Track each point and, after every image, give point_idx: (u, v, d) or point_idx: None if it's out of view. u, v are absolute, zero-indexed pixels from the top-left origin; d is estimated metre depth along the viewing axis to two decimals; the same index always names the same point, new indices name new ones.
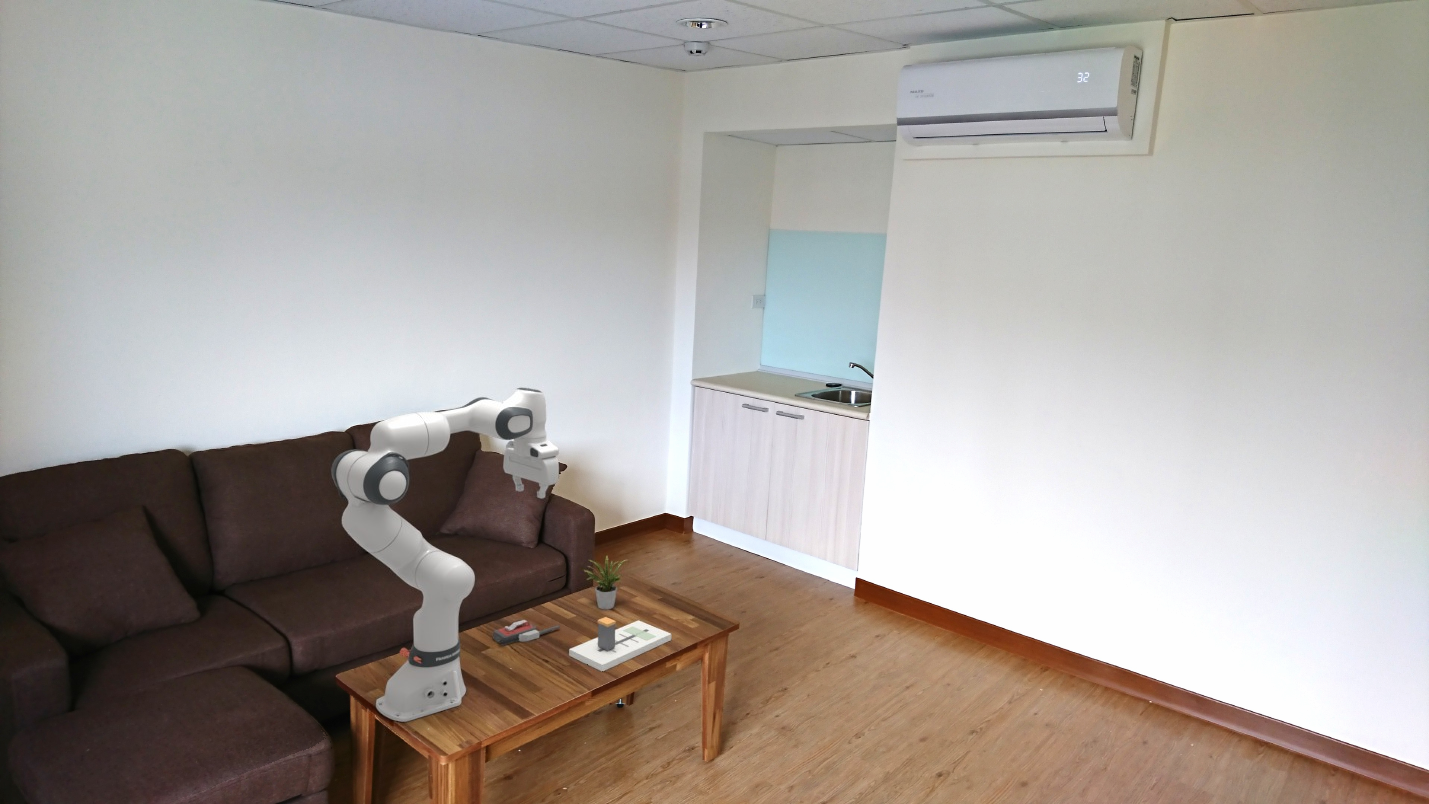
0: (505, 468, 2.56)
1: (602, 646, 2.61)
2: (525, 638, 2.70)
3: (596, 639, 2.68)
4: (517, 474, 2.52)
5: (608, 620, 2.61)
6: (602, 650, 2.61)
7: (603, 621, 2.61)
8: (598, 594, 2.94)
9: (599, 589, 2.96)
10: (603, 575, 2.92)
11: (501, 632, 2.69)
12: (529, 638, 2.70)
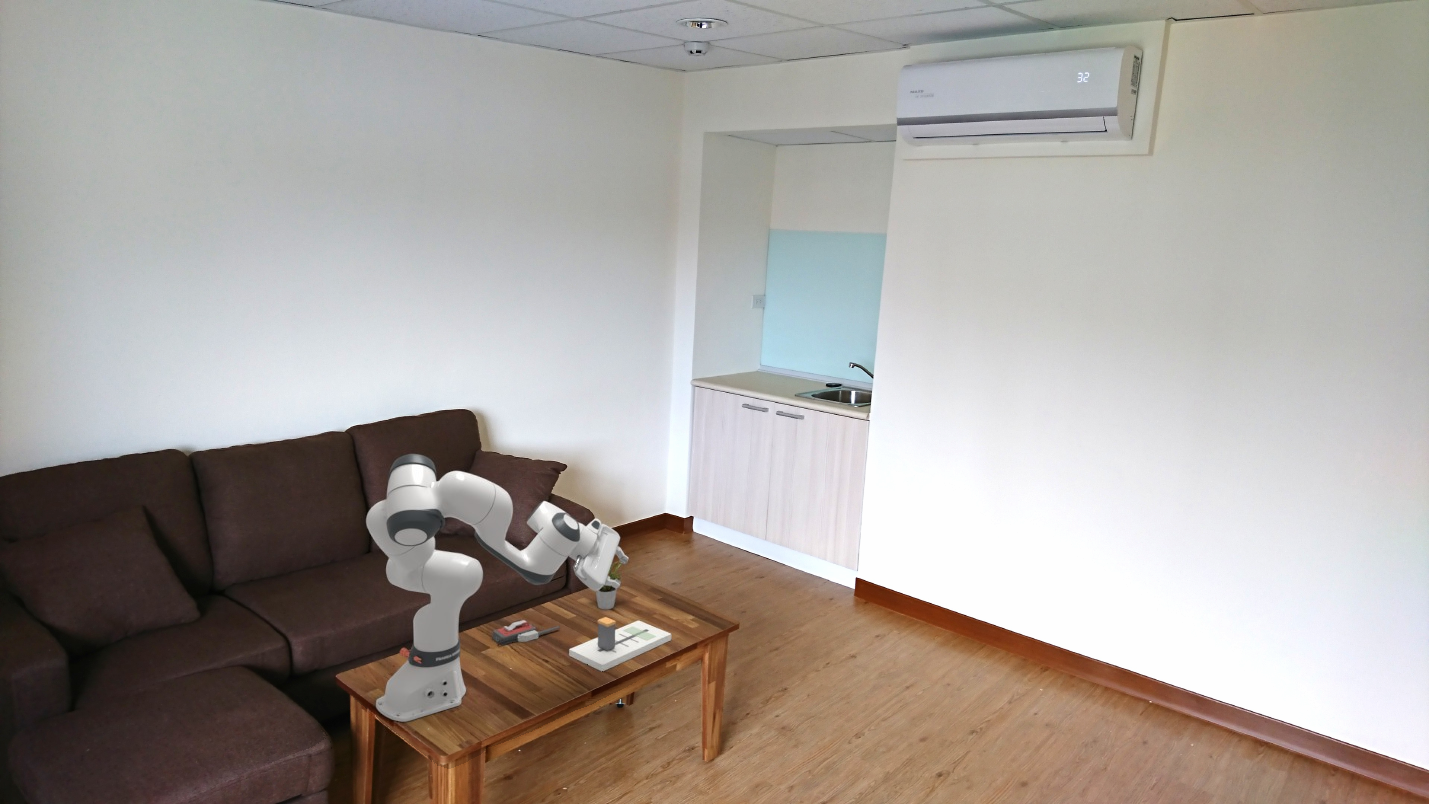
0: (601, 580, 2.35)
1: (602, 646, 2.61)
2: (524, 638, 2.70)
3: (596, 639, 2.68)
4: (608, 567, 2.40)
5: (608, 620, 2.61)
6: (602, 650, 2.61)
7: (603, 621, 2.61)
8: (598, 594, 2.94)
9: (599, 589, 2.96)
10: None
11: (500, 632, 2.69)
12: (528, 639, 2.70)
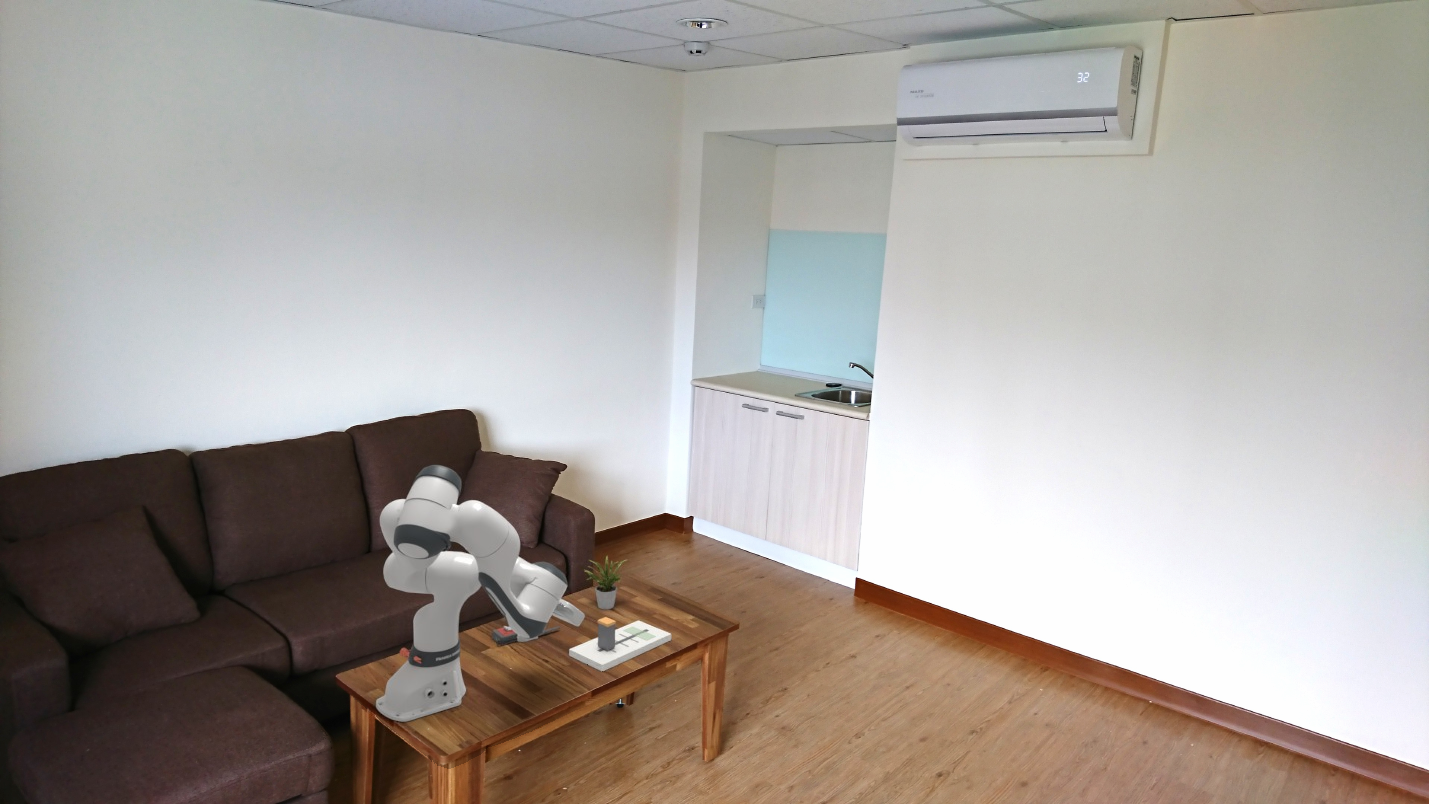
0: None
1: (602, 646, 2.61)
2: (523, 638, 2.69)
3: (596, 639, 2.68)
4: None
5: (608, 620, 2.61)
6: (602, 650, 2.61)
7: (603, 621, 2.61)
8: (598, 594, 2.94)
9: (599, 589, 2.96)
10: (603, 575, 2.92)
11: (500, 632, 2.69)
12: (527, 639, 2.70)
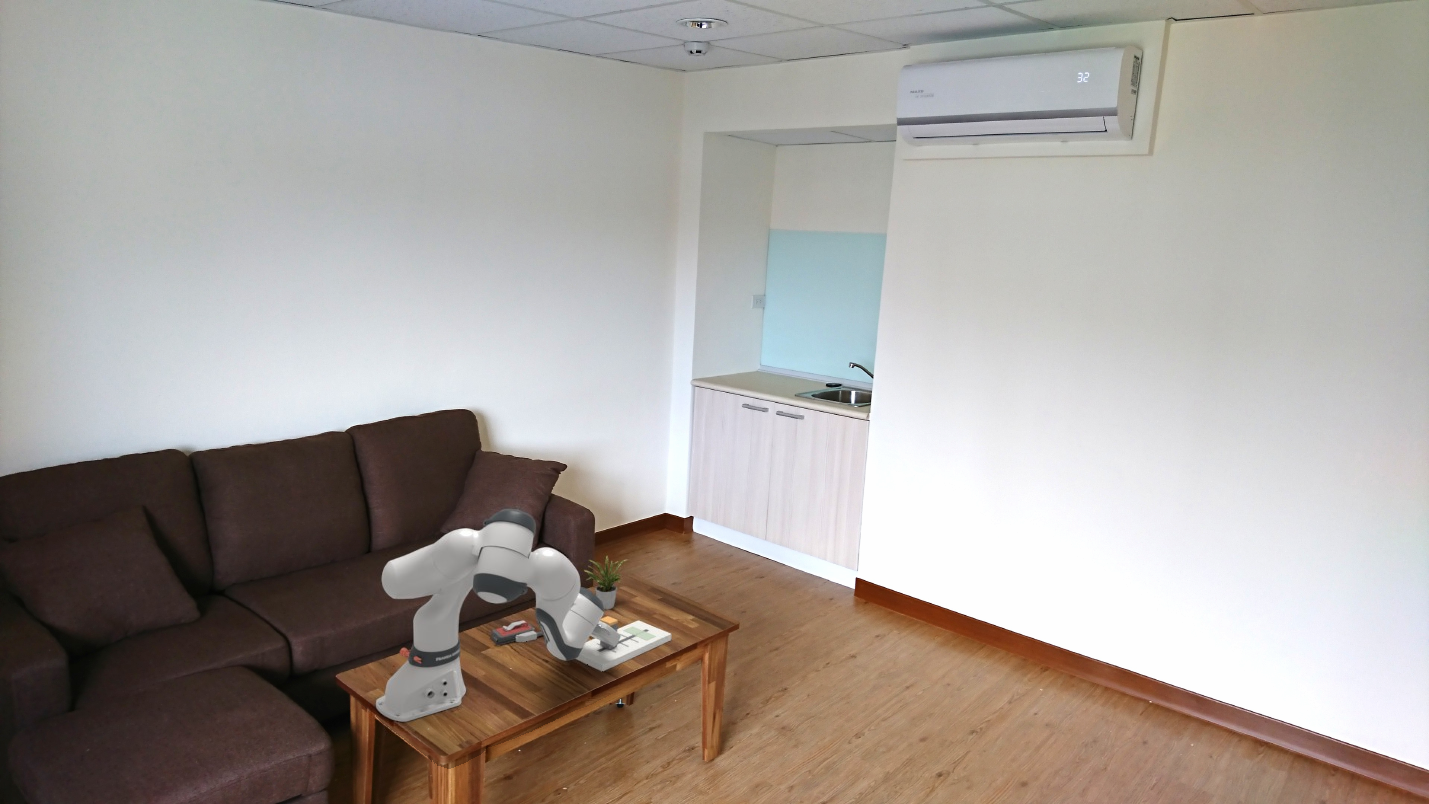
0: None
1: (604, 645, 2.62)
2: (522, 639, 2.69)
3: (596, 639, 2.68)
4: None
5: (610, 619, 2.62)
6: (602, 650, 2.61)
7: (605, 620, 2.61)
8: (598, 594, 2.94)
9: (599, 589, 2.96)
10: (603, 575, 2.92)
11: (498, 632, 2.69)
12: (526, 639, 2.70)
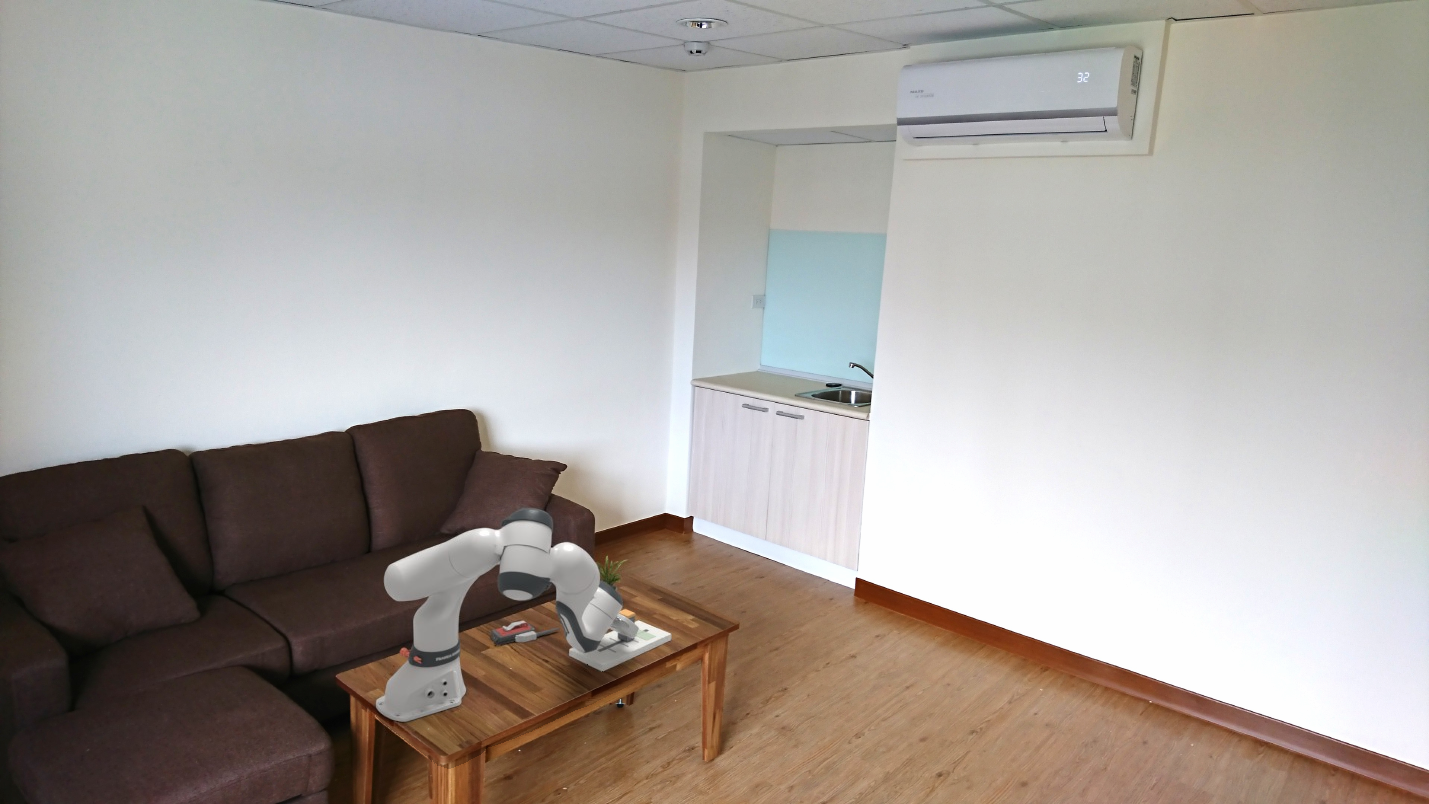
0: None
1: (622, 637, 2.67)
2: (521, 639, 2.69)
3: None
4: None
5: (627, 612, 2.67)
6: (602, 650, 2.61)
7: (623, 613, 2.67)
8: None
9: None
10: (603, 575, 2.92)
11: (498, 632, 2.69)
12: (525, 639, 2.69)
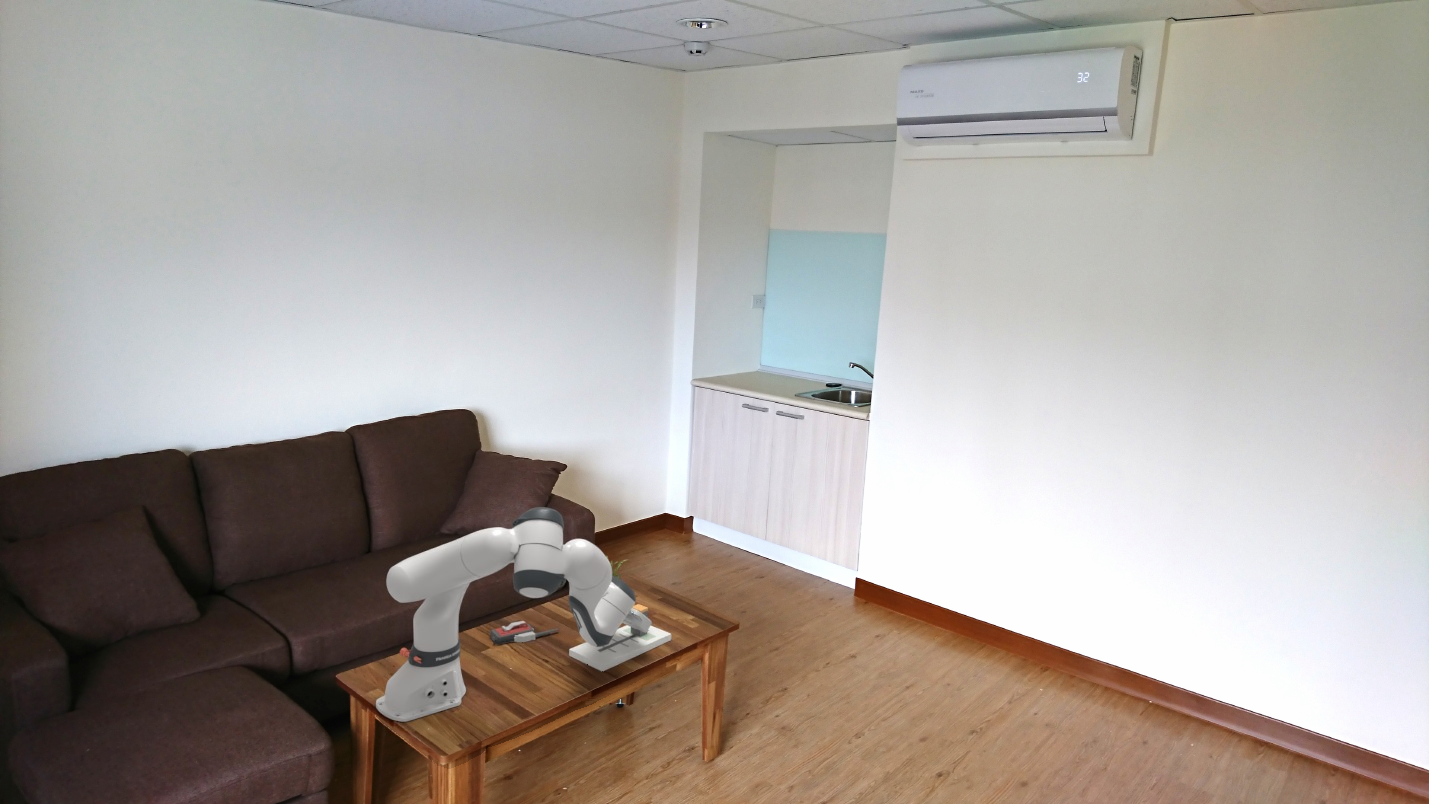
0: None
1: (635, 632, 2.71)
2: (520, 639, 2.69)
3: None
4: None
5: (640, 607, 2.71)
6: (602, 650, 2.61)
7: (636, 608, 2.71)
8: None
9: None
10: None
11: (497, 632, 2.69)
12: (524, 640, 2.69)
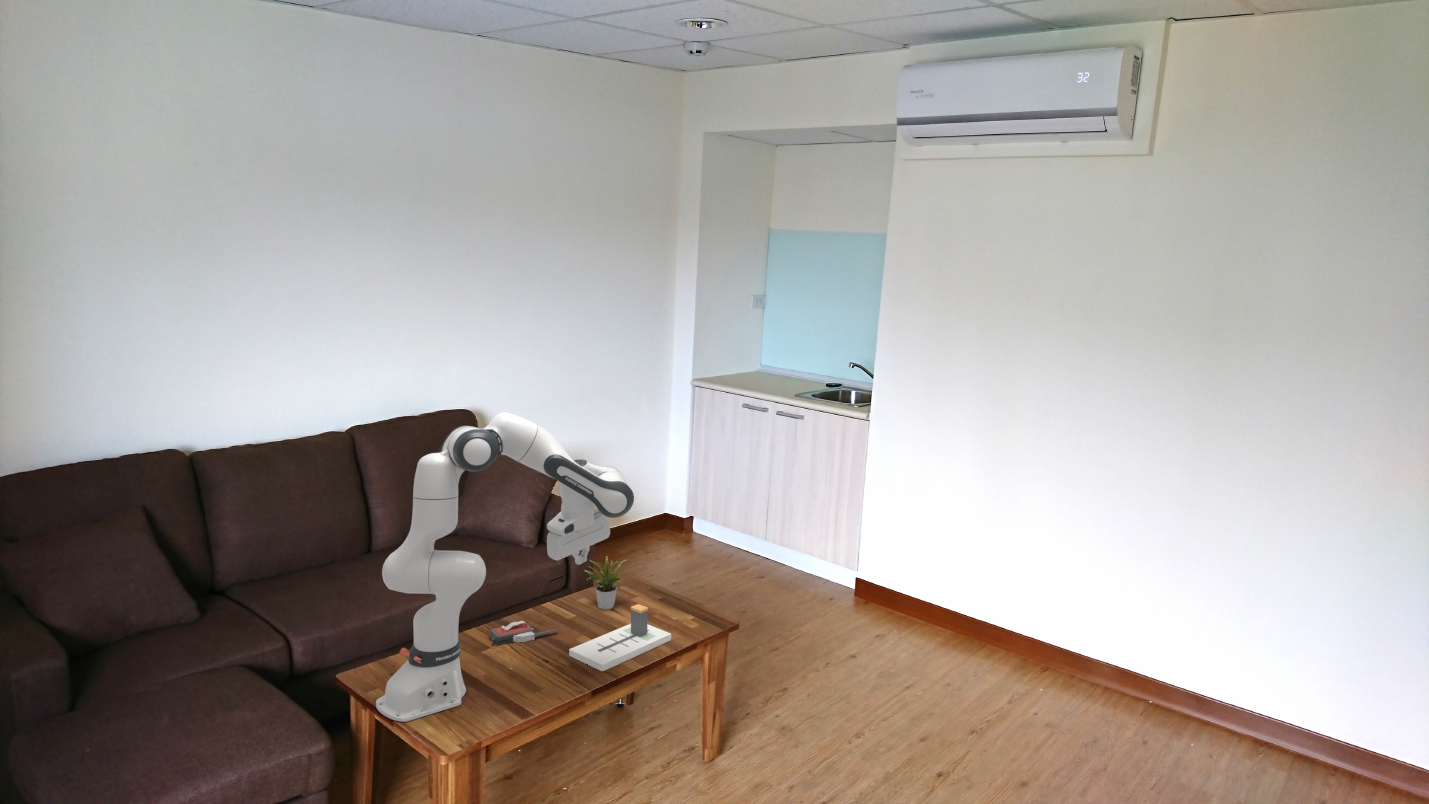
0: None
1: (635, 632, 2.71)
2: (519, 639, 2.69)
3: (596, 639, 2.68)
4: None
5: (640, 607, 2.71)
6: (602, 650, 2.61)
7: (636, 608, 2.71)
8: (598, 594, 2.94)
9: (599, 589, 2.96)
10: (603, 575, 2.92)
11: (496, 631, 2.70)
12: (523, 640, 2.69)
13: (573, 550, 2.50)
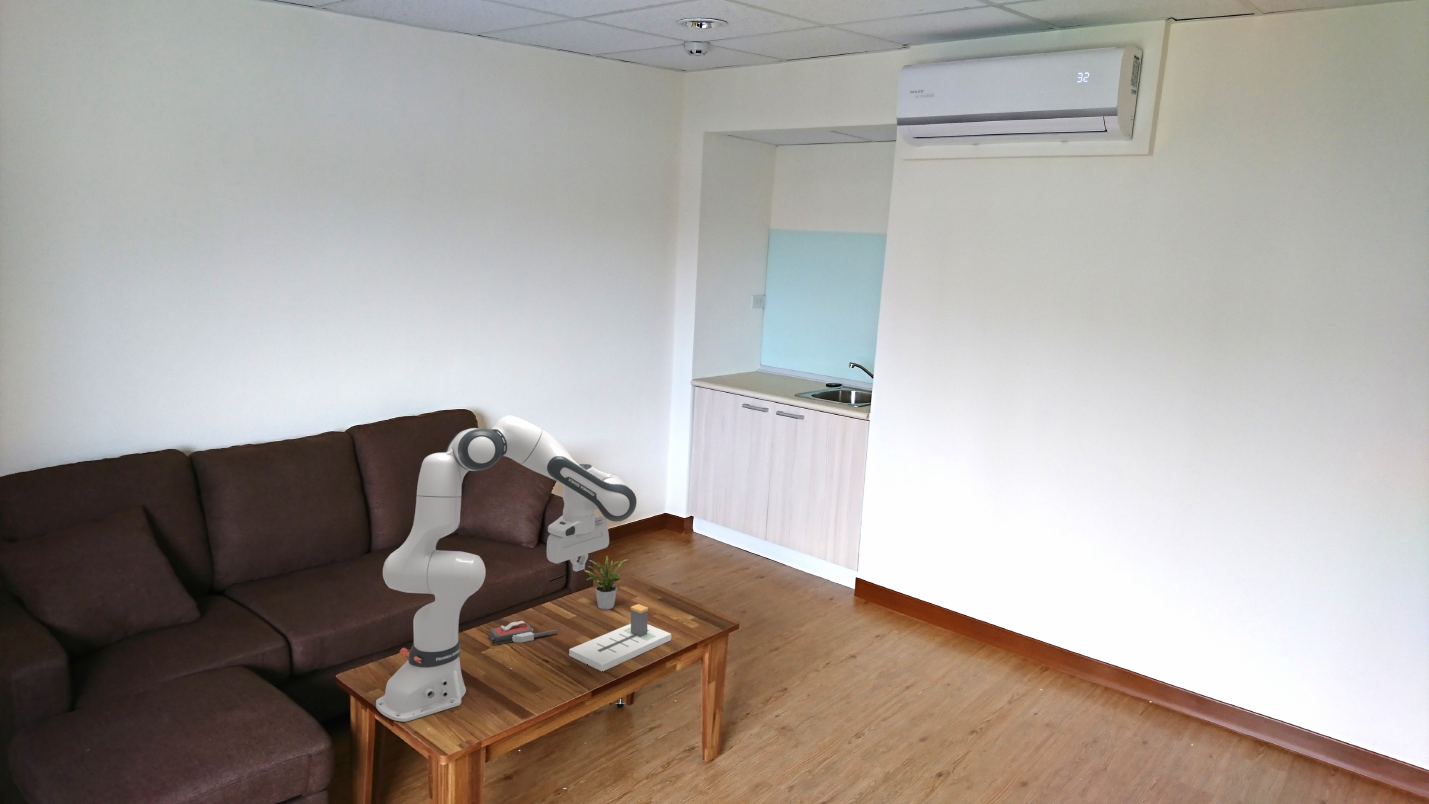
0: None
1: (635, 632, 2.71)
2: (518, 639, 2.69)
3: (596, 639, 2.68)
4: None
5: (640, 607, 2.71)
6: (602, 650, 2.61)
7: (636, 608, 2.71)
8: (598, 594, 2.94)
9: (599, 589, 2.96)
10: (603, 575, 2.92)
11: (496, 631, 2.70)
12: (522, 640, 2.69)
13: (572, 555, 2.49)
